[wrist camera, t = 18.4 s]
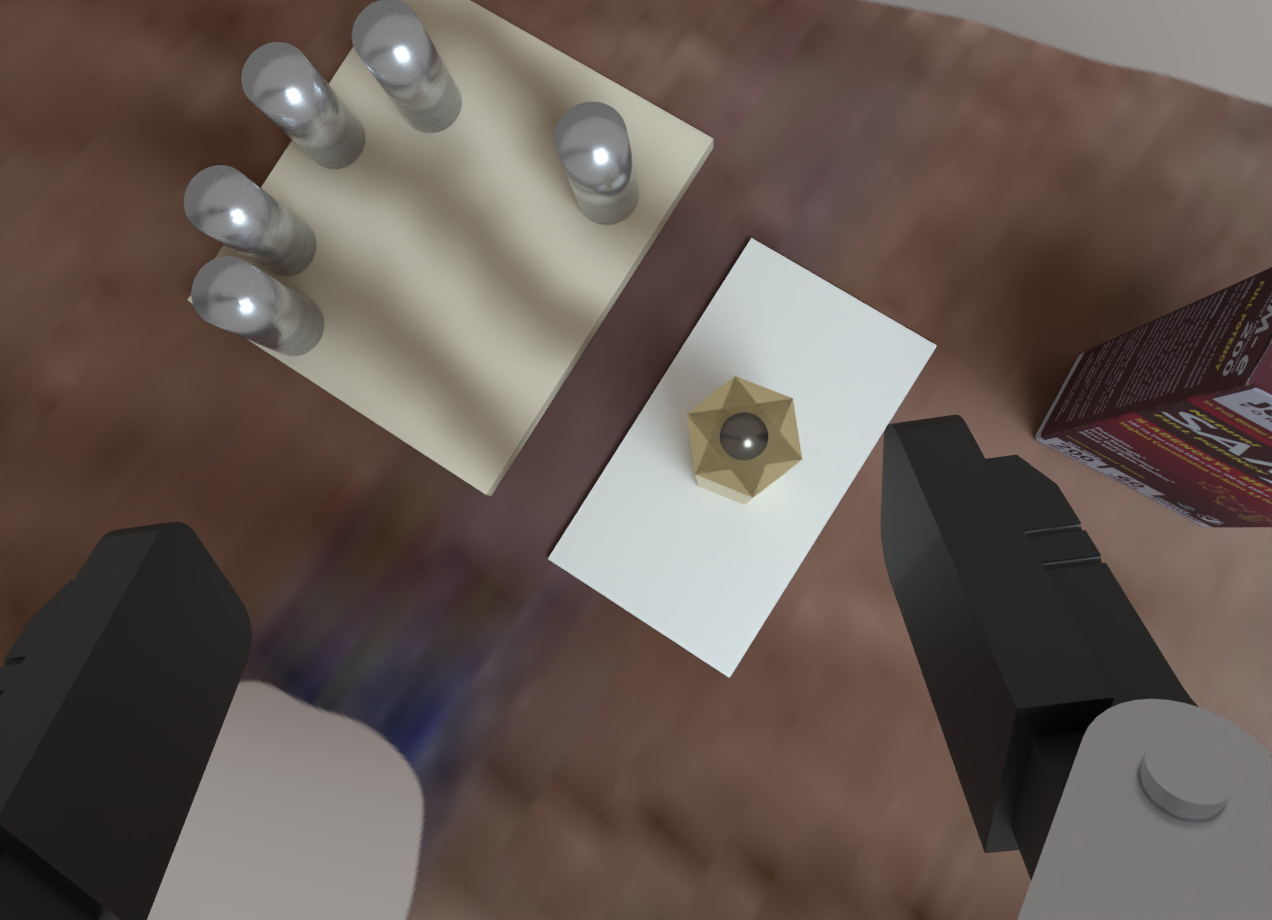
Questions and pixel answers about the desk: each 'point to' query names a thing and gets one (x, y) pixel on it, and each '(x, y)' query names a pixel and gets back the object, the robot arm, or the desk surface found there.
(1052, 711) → the robot arm
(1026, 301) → the desk surface
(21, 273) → the desk surface
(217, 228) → the posts
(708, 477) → the tan faceted block
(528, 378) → the board
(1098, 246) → the desk surface
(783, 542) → the off-white mat
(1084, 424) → the supplement box
